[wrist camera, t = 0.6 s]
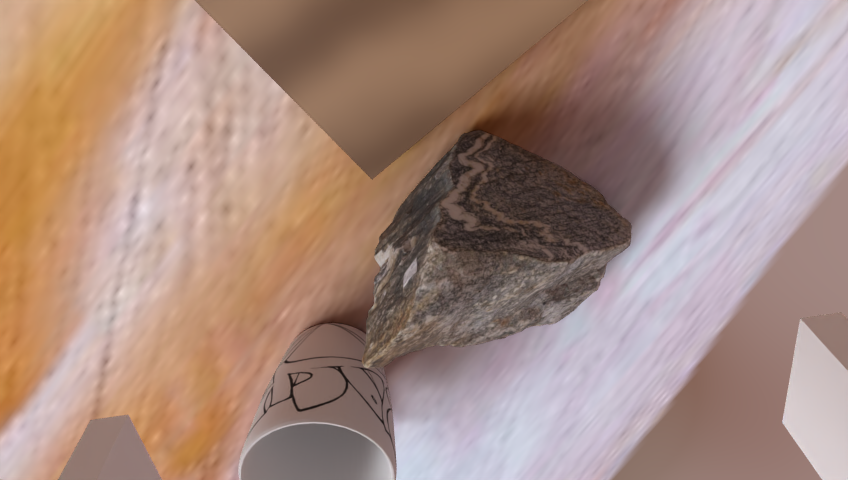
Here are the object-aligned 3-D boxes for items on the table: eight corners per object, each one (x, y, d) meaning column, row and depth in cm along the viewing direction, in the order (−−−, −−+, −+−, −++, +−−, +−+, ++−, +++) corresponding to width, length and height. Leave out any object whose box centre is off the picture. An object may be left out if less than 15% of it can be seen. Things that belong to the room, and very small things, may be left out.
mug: (413, 429, 47) (415, 555, 38) (298, 443, 47) (274, 571, 39) (385, 298, 41) (381, 410, 33) (256, 316, 42) (217, 432, 33)
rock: (651, 226, 37) (582, 397, 26) (573, 303, 42) (485, 476, 31) (484, 99, 38) (345, 210, 27) (427, 189, 43) (289, 315, 32)
